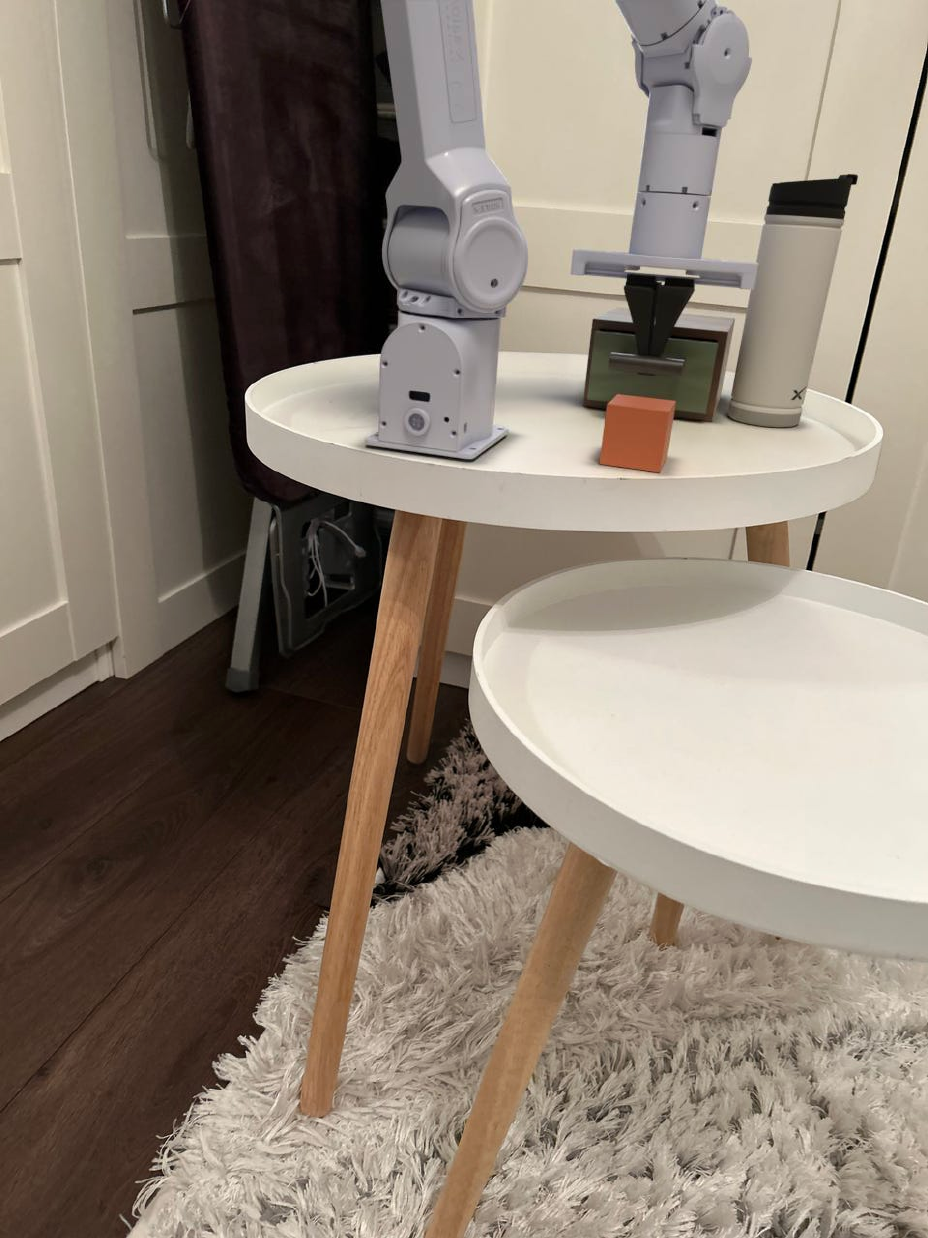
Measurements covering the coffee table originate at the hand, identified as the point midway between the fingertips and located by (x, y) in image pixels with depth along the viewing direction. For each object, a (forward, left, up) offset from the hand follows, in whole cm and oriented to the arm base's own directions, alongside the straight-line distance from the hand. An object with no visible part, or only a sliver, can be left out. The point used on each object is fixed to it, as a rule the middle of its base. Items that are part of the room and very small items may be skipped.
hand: (647, 373), depth 74 cm
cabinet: (+10, 0, -4) cm, 11 cm away
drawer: (+6, 0, -3) cm, 7 cm away
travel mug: (+7, -10, -4) cm, 13 cm away
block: (-15, -2, -4) cm, 15 cm away
